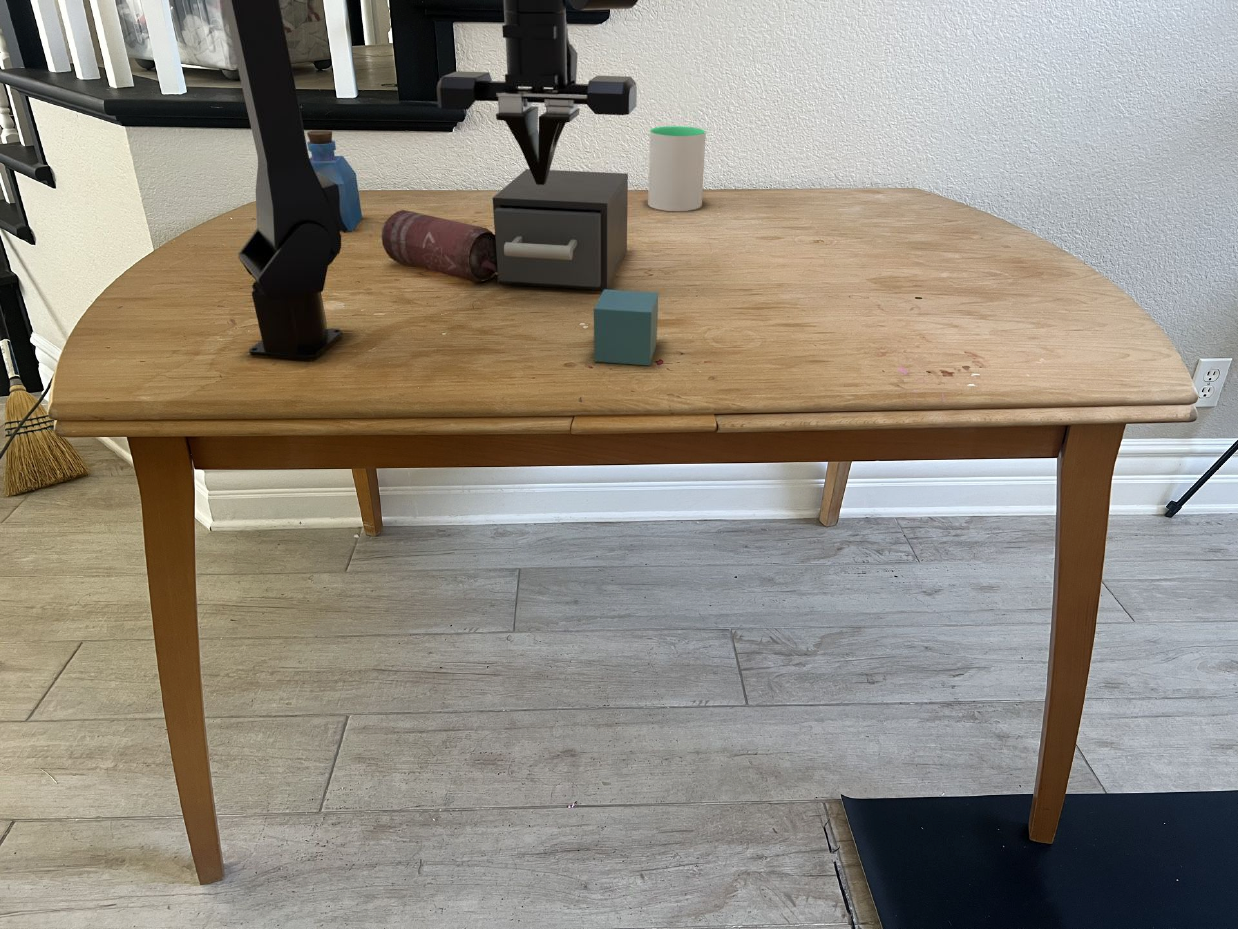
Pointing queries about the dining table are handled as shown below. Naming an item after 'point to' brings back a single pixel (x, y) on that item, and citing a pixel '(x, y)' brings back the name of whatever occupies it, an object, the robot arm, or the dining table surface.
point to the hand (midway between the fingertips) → (541, 184)
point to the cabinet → (577, 194)
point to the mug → (676, 168)
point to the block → (625, 327)
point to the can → (440, 245)
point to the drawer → (548, 245)
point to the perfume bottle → (336, 175)
